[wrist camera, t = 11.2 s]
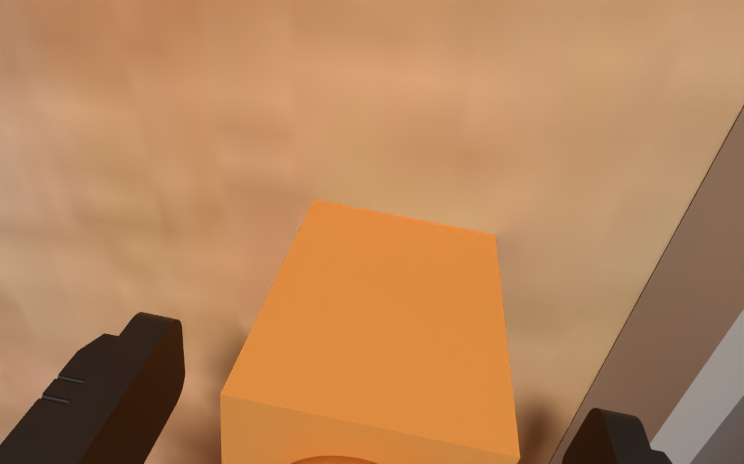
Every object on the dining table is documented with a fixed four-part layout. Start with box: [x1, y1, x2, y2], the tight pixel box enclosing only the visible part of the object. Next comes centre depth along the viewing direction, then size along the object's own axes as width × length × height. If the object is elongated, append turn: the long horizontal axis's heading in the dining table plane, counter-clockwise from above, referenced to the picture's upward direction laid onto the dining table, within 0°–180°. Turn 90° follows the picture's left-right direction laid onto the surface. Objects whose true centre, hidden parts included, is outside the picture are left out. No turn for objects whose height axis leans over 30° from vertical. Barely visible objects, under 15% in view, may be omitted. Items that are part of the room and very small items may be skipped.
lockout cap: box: [220, 199, 520, 464], centre depth 11 cm, size 4×4×7 cm
